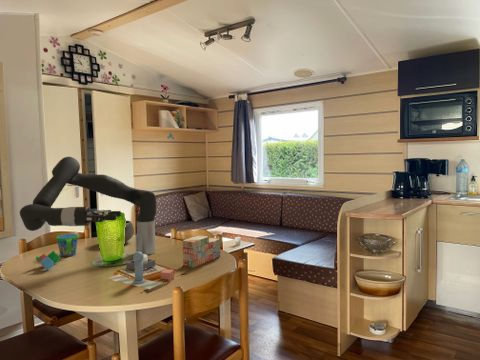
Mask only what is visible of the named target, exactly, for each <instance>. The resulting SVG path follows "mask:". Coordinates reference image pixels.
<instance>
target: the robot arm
mask: <svg viewBox="0 0 480 360" xmlns="http://www.w3.org/2000/svg"><path fill="white" fill-rule="evenodd" d="M80 169H81V164H80V162H79V161H78V160H77V158H74V157H73V156H65V157H62V158H61V159H60V160H59V161H58V162H57V163H56V165H54V167H53V169H52V170H51V173H52V177H51V178H50V179H49V180H48V181H47V182H46V183H45V185H43V187H42V188H41V189H40V190H39V191H38V193H37V194H36V196H35V197H34V199H33V200H32V203H30V204H27V205H26V204H25V205H24V206H23V207H22V208H21V209H20V210H19V216H20V219H21V221H22V223H23V225H24V228H26V230H28V231H31V232H33V231H38V230H39V229H41V228H42V227H43V226H44V225H45V224H46V223H47V224H48V225H49V226H51V227H58V226H59V227H60V226H61V227H62V226H63V227H65V226H66V227H88V226H90V224H91V223H103V222H106V221H114V220H117V217H118V218H119V217H121V216H122V211H120V210H111V209H106V210H105V209H101V210H97V209H96V210H94V211H92V212H91V208H90V207H89V206H69V207H53V205H54V204H55V202H56V200H57V199H58V197H59V196H60V194H61V192H62V191H63V189H64V188H65V187H66V185H67V184H68V185H72V186H76V187H79V188H83V189H87V190H90V191H93V192H96V193H99V194H101V195H104V196H108V197H110V198H115V199H120V200H124V201H126V202H129V203H130V204H133V205H134V206H137V207H139V214H138V215H136V235H135V253H136V252H142V253H143V254H146V255H153V254H155V253H156V225H155V223H156V222H155V219H156V214H157V197H156V195H155V193H154V192H153V191H151V190H146V189H145V190H144V189H139V188H136V187H132V186H129V185H127V184H125V183H124V182H123V181H121V180H119V179H117V178H115V177H113V176H109V175H106V174H84V173H81V172H80Z"/></svg>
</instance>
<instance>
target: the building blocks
mask: <svg viewBox="0 0 480 360" xmlns="http://www.w3.org/2000/svg"><path fill="white" fill-rule="evenodd" d="M35 260H36V261H37V262H38V263H39V264H40V265H41V266H42V267H43V268H44V269H45V270H46V271H49V270H50V269H51V268H52V267H53V266H54V265H55V264H57V263H58V262H59V261H60V260H61V257H60V255H58V253H56V252H55V250H53V251H51V252H49V254H48V255H47V254H45V253H43V254H41V255H40V256H38V255H37V256H36V257H35Z"/></svg>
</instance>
